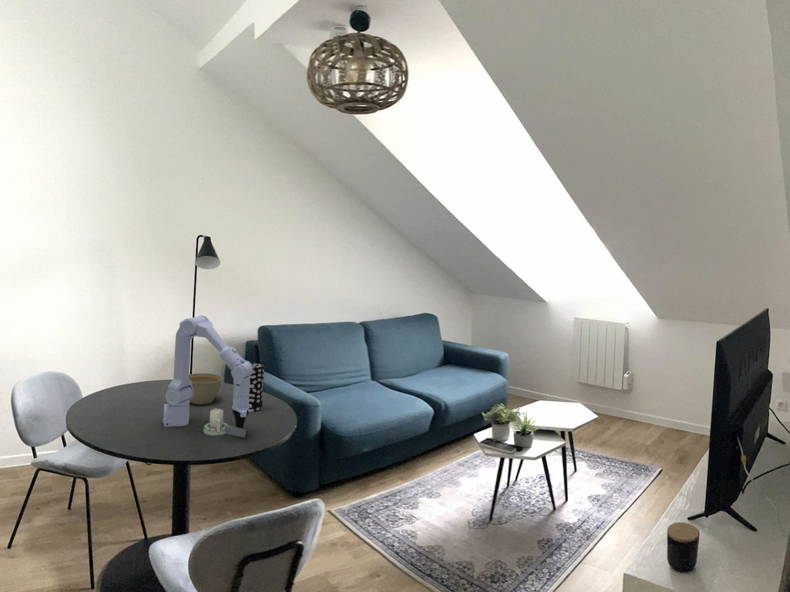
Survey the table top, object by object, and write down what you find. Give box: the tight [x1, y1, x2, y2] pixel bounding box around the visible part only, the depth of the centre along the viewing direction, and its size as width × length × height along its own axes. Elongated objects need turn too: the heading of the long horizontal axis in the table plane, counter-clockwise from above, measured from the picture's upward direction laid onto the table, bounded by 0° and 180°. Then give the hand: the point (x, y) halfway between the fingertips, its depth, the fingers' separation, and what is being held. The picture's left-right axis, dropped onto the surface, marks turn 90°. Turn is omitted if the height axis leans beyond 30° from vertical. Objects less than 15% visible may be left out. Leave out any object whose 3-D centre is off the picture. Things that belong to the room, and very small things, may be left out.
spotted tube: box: [248, 362, 265, 413], centre depth 243 cm, size 8×8×20 cm
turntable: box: [203, 422, 247, 439], centre depth 214 cm, size 14×14×3 cm
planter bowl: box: [189, 372, 223, 405], centre depth 252 cm, size 16×16×11 cm
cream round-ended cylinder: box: [209, 407, 224, 432], centre depth 214 cm, size 8×5×7 cm, turn 28°
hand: (239, 429), depth 214 cm, fingers closed, pressing on turntable
